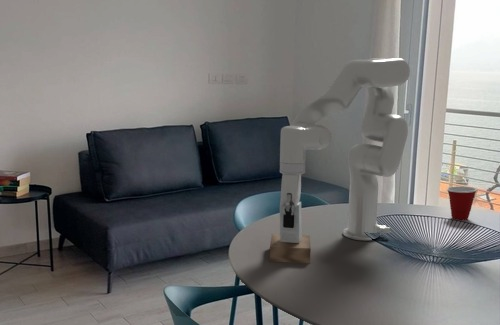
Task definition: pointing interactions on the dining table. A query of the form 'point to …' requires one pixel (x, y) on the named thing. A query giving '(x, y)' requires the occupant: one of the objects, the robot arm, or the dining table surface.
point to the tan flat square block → (290, 250)
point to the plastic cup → (461, 201)
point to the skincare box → (291, 233)
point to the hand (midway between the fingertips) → (291, 222)
